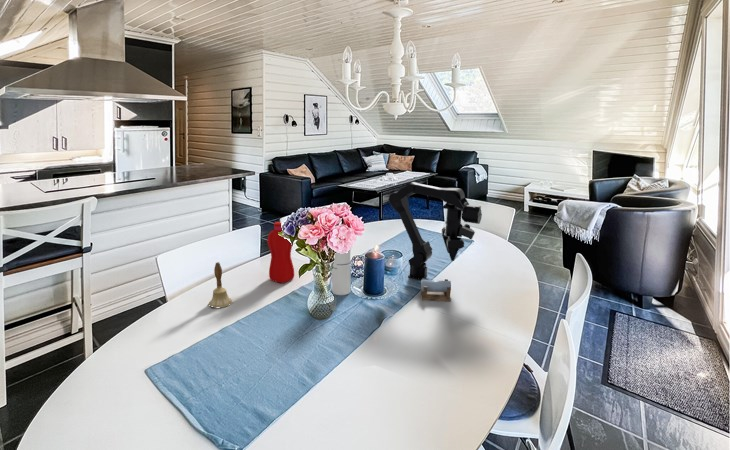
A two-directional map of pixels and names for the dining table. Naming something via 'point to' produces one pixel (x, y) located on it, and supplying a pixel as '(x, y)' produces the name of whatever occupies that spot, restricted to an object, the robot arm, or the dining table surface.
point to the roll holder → (436, 294)
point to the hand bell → (219, 290)
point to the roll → (435, 285)
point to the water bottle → (280, 256)
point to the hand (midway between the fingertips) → (450, 256)
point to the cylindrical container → (341, 274)
